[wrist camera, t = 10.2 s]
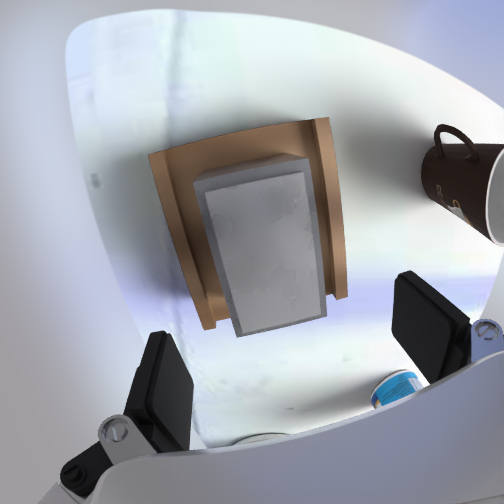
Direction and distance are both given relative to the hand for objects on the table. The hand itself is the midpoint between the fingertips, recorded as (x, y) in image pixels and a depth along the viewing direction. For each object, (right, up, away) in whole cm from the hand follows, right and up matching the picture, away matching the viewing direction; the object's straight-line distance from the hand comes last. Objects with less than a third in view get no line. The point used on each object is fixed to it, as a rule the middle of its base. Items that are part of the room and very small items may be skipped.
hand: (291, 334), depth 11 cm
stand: (-1, +6, +13) cm, 15 cm away
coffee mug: (+18, +13, +13) cm, 25 cm away
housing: (-1, +5, +10) cm, 11 cm away
